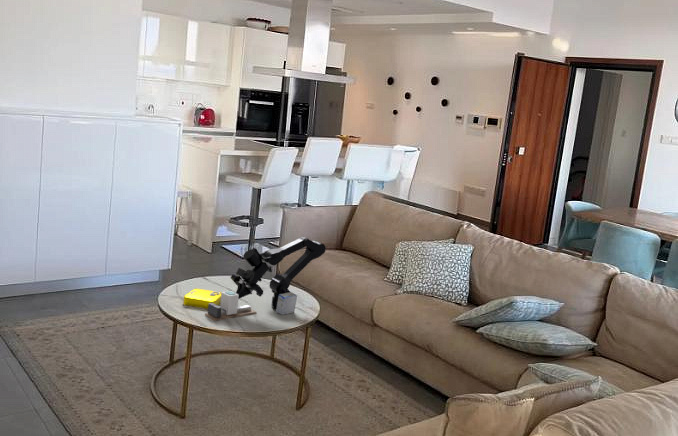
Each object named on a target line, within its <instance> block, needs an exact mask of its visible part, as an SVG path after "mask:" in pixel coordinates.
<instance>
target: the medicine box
mask: <svg viewBox="0 0 678 436" xmlns="http://www.w3.org/2000/svg"><path fill="white" fill-rule="evenodd" d="M297 299H298V294H295V293H293V292H292V291H290V292H289V293H284V294H279V297H278V303H277V309H275V311H276V313H277V314H280V316H281V315H282V316H283V315H288V314H292V313H295V309H296V305H297Z"/></svg>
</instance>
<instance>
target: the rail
mask: <svg viewBox="0 0 678 436" xmlns="http://www.w3.org/2000/svg"><path fill="white" fill-rule="evenodd" d="M251 309H252V306H251V305H249V304H246V305H239V306H238V309H237V313H238V312H244V311H250V310H251ZM207 313H208V314H210V315H211V316H213V317H215V318H221V315H226V310H224V309H221V307H220V305H219V306H217V305H216V304H214V303H209V304H208V309H207Z"/></svg>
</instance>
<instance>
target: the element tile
mask: <svg viewBox="0 0 678 436" xmlns="http://www.w3.org/2000/svg"><path fill="white" fill-rule="evenodd" d="M222 292H223V291H222ZM222 292H220V291H215V290H210V289H209V290H208V289H202V288H196V287H195V288H193V289H192V290H190V291H189V292H187V293H185V294H184V295H183V304H182V305H184V306H186V307H192V308H197V309H205V310H208V304H209V303H214V304H216V305H217V306H219V307H220V304H221V293H222Z"/></svg>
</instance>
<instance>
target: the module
mask: <svg viewBox="0 0 678 436" xmlns="http://www.w3.org/2000/svg"><path fill="white" fill-rule="evenodd" d="M238 298H239V295H238V294H236V292H234V291H232V290H229V291H222V293H221V304H220V305H219V307H221V309H224V310H226V315H231V314H236V313H237V309H238V307H239V306H238V305H239V299H238Z"/></svg>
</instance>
